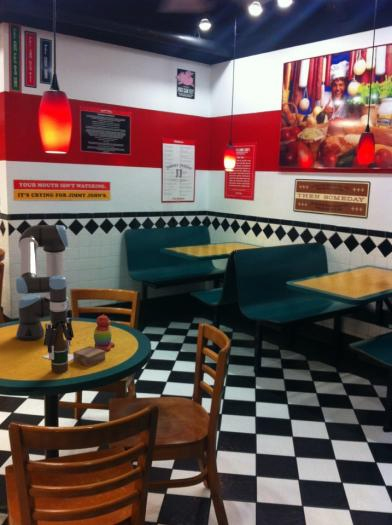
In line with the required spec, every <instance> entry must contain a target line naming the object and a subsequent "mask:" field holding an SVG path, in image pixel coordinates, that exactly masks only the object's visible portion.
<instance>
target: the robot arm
mask: <svg viewBox="0 0 392 525" xmlns="http://www.w3.org/2000/svg"><path fill="white" fill-rule="evenodd" d="M67 247H69V242H68V235H67V229H66V226H64V225H62V224H61V225H60V224H59V225H58V224H46V225H45V224H43V225H41V224H40V225H39V224H37V225H31V226H30V227H28V228H26V229H25V230H24V231H23V232H22V233H21V235H20V237H19V239H18V248H19V250H20V277H17V278H16V279H15V280H16V281H15V282H16V284H15V285H16V286H15V288H16V293H17V294H21V295H24V294H25V295H24V296H22V297H20V298H19V299H18V306H17V308H18V327H17V331H16V333H15V337H16V339H17V340H19V341H23V342H25V341H27V342H29V341H37V340H40V339H43V338H44V339H43V346H45V347H47V353H48V354H49V359H48V360H51V359H52V360H53V359H54V346H52V345H53V342H54V339H55V336H56V333H57V332H58V329H59V327H60V323H61V322H62V324H63V325H62V328H63V337H64V340H65V341H66V343H67V347H68V354H71V351H70V349H71V348H70V347H71V341H73V338H74V336H75V335H74V330H73V325H72V323H73V322H72V318H70V317H68V310H69V297H68V296H67V286H68V284H67V278H66V277H65V276H64V274H63V273H64V272H63V271H64V268H63V267H64V265H63V263H64V260H63V257H64V256H63V254H64V252H65V251H66V248H67ZM38 248H42V250H43V252H45V253H46V255H45V258H46V276H38V261H37V260H38V258H37V249H38ZM27 294H28V295H27ZM40 294H44V296H43V297H41V295H40ZM49 318H50V323H45V325H44V327H45V329H44V328H43V324H42V320H41V319H49Z"/></svg>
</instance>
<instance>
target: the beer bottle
mask: <svg viewBox="0 0 392 525" xmlns="http://www.w3.org/2000/svg"><path fill="white" fill-rule="evenodd" d="M62 325H63V324H62V322H61V323H60V327H59V329H58V332H57V333H56V336H55V339H54V342H53V345H52V346H54V359H53V360H52V359H50V366H51V367H50V368H51V372H52V374H57V375H58V374H59V375H60V374H65V373H66V372H68V371H69V370H68V369H69V362H68V347H67V343H66V341H65V336H64V334H63V328H62Z"/></svg>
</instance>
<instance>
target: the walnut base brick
mask: <svg viewBox="0 0 392 525" xmlns="http://www.w3.org/2000/svg"><path fill="white" fill-rule="evenodd" d="M72 354H73V360H72V361H73V362H74V363H77V364H80V365H84V366H87V367H91V366H94V365H97V364H99V363H101V362H104V361H106V352H105V351H104V350H101V349H98V348H94V346H91V345H89V346H86V347H84V348H80V349H78V350H77V349H76V350H75V351H73V352H72Z"/></svg>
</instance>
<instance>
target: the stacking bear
mask: <svg viewBox="0 0 392 525" xmlns="http://www.w3.org/2000/svg"><path fill="white" fill-rule="evenodd" d="M95 322H96V327H94V328H95V329H94V331H93V332H94V333H93V340H94V346H93V347H94V348H98V349H101V350H104V351H105V353H106V352H110V351H111V349H112V348H114V347H115V346H116V344H115V343H114V342H113V341H112V338H113V337H112V330H111V327H110V325H111V322H112V321H111V320H110V318H109V317H108V316H107V315H105V314H102V315H100V316H97V318H96V321H95Z"/></svg>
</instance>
